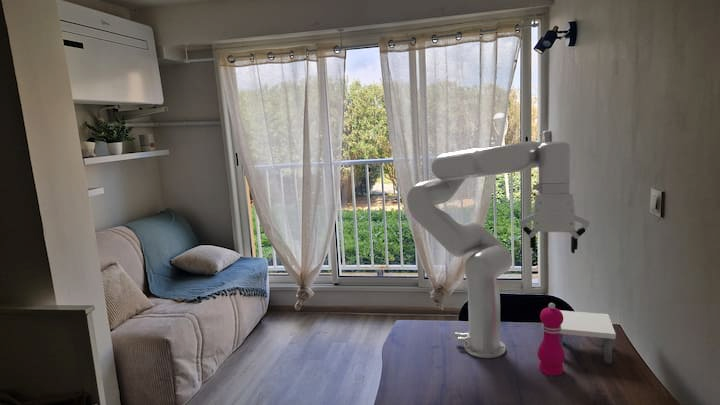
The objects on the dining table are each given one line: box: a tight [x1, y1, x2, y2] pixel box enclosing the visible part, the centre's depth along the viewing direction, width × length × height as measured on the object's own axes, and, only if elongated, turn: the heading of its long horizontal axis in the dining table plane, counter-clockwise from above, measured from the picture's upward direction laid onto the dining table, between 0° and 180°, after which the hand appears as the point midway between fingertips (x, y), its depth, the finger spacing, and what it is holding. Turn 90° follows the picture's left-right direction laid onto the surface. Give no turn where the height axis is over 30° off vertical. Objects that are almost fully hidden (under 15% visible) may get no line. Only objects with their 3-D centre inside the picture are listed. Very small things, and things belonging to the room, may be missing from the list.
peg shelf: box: [559, 309, 617, 365], centre depth 139 cm, size 16×14×10 cm
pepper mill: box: [536, 302, 566, 377], centre depth 129 cm, size 7×7×20 cm
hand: (553, 251), depth 124 cm, fingers open, 9 cm apart
